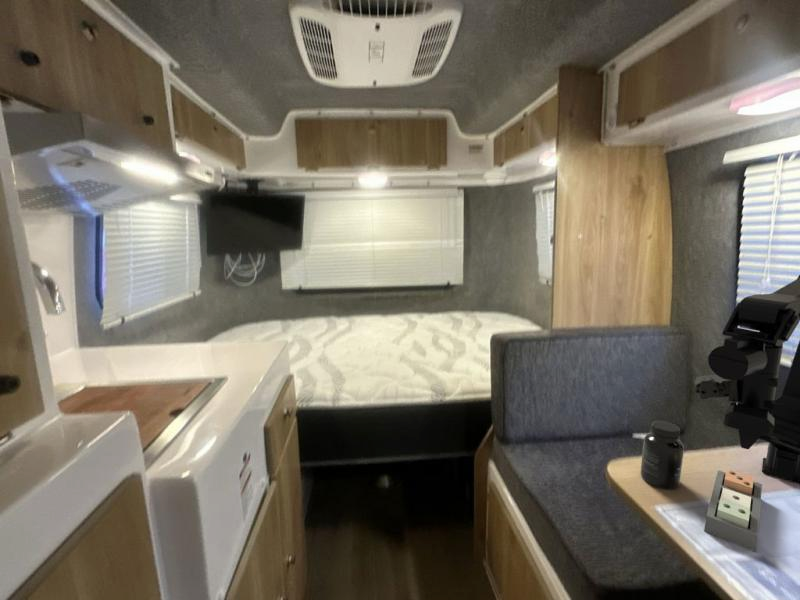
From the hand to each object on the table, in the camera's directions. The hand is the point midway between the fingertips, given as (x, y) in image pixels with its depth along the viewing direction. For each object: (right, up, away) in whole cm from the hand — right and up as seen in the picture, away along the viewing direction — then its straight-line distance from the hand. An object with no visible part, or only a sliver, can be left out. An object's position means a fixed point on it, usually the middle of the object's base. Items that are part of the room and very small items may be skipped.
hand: (744, 447), depth 75 cm
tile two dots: (-7, -10, -6) cm, 14 cm away
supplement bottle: (-11, -10, +8) cm, 17 cm away
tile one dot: (-4, -11, -2) cm, 11 cm away
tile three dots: (0, -9, +2) cm, 9 cm away
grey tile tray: (-4, -11, -2) cm, 12 cm away
